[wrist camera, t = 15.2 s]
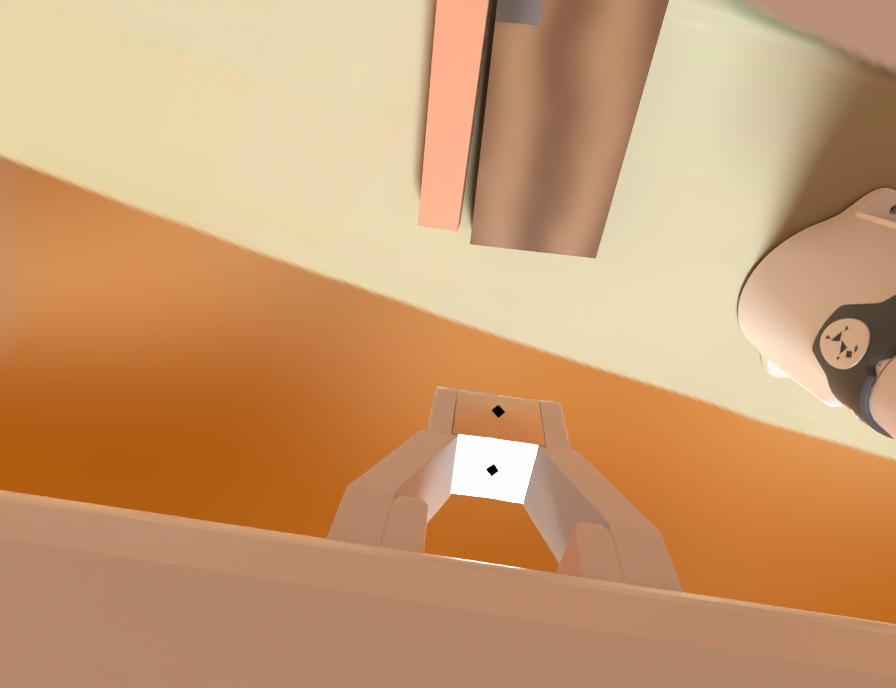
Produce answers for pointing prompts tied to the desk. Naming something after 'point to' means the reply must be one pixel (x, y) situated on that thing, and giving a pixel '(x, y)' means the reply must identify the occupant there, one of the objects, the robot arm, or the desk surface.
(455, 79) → the stool leg
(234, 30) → the desk surface
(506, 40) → the seat block
